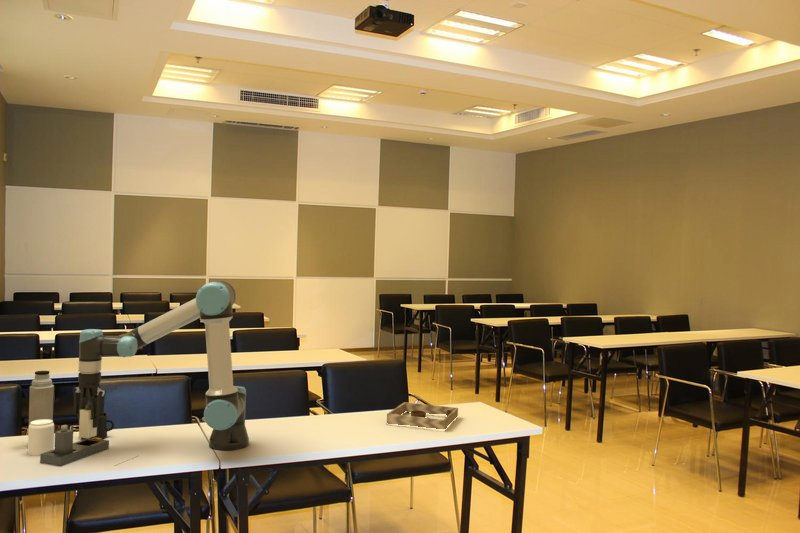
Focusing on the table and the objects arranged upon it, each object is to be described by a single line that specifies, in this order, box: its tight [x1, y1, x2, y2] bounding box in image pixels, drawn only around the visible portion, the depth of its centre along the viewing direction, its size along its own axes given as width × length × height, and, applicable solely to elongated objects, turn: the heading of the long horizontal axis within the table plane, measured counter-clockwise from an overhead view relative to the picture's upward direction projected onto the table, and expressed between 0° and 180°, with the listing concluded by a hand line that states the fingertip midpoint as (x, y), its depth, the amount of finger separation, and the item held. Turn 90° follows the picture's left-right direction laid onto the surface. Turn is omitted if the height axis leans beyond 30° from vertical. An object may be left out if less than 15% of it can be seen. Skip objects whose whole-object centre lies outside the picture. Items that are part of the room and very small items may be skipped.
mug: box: [80, 412, 115, 440], centre depth 254 cm, size 9×12×9 cm
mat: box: [114, 455, 139, 467], centre depth 228 cm, size 12×12×1 cm
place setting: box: [410, 410, 452, 418], centre depth 295 cm, size 18×20×6 cm
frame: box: [386, 401, 459, 429], centre depth 296 cm, size 27×26×5 cm
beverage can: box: [27, 419, 55, 457], centre depth 231 cm, size 8×8×12 cm
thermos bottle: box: [28, 370, 55, 426], centre depth 242 cm, size 8×8×28 cm
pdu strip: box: [39, 437, 110, 467], centre depth 228 cm, size 22×9×5 cm, turn 162°
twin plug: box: [54, 424, 74, 455], centre depth 223 cm, size 4×4×12 cm
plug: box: [78, 402, 94, 439], centre depth 233 cm, size 4×4×12 cm
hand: (87, 435), depth 233 cm, fingers closed on plug, 4 cm apart
